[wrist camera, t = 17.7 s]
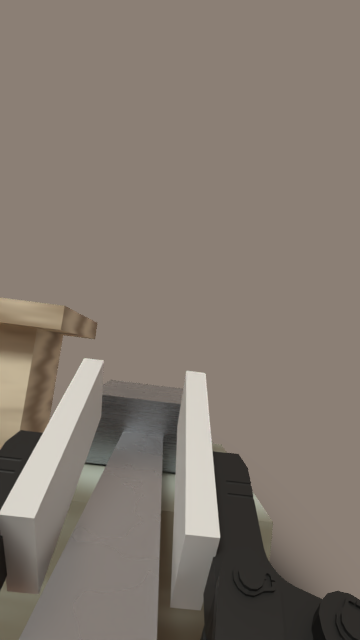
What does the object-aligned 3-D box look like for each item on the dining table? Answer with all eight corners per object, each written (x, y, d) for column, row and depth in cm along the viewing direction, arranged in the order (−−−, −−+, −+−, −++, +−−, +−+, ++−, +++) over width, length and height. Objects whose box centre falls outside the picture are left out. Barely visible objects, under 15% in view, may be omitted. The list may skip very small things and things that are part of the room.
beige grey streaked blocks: (-69, 572, 38) (-18, 308, 42) (184, 597, 39) (213, 337, 43) (-555, 1022, 12) (-315, 228, 16) (226, 1064, 13) (291, 306, 17)
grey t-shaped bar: (104, 428, 28) (110, 380, 28) (188, 438, 28) (194, 390, 29) (-252, 904, 4) (-184, 560, 4) (311, 943, 4) (337, 613, 5)
